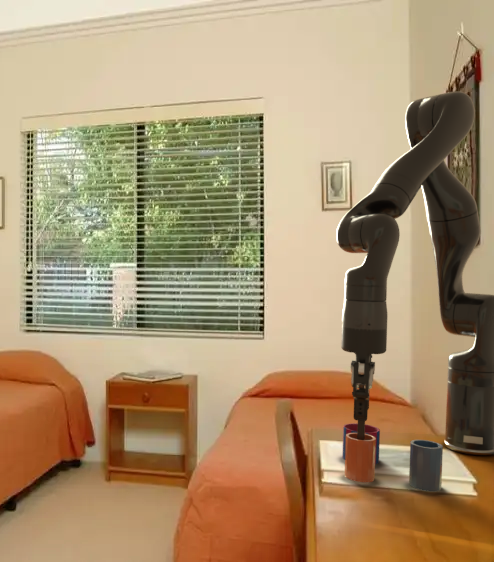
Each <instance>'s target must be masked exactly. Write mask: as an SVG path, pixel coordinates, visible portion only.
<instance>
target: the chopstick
mask: <svg viewBox="0 0 494 562" xmlns="http://www.w3.org/2000/svg"><path fill="white" fill-rule="evenodd" d="M357 424H358V428H357V439H358V440H365V424H366V421H358V420H357Z"/></svg>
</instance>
